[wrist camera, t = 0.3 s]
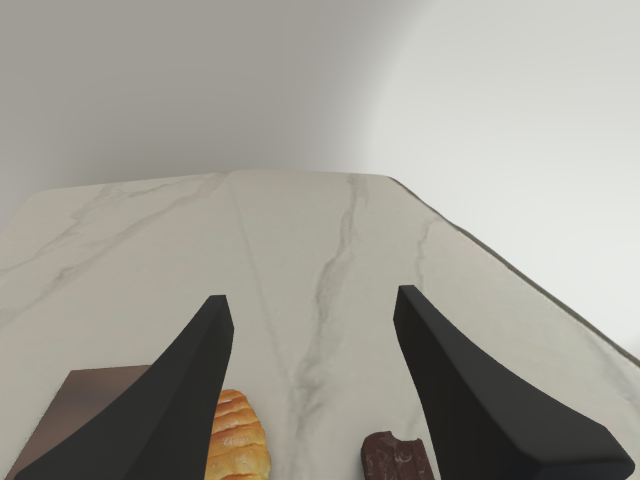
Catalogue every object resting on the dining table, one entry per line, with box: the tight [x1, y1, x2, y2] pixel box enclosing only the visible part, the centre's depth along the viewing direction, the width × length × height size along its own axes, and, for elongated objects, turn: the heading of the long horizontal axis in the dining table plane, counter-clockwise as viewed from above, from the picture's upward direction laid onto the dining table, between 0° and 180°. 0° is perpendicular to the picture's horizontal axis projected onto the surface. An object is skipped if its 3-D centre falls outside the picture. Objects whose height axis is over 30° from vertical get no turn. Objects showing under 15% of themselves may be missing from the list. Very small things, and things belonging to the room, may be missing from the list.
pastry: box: [204, 389, 271, 480], centre depth 24 cm, size 9×7×4 cm
